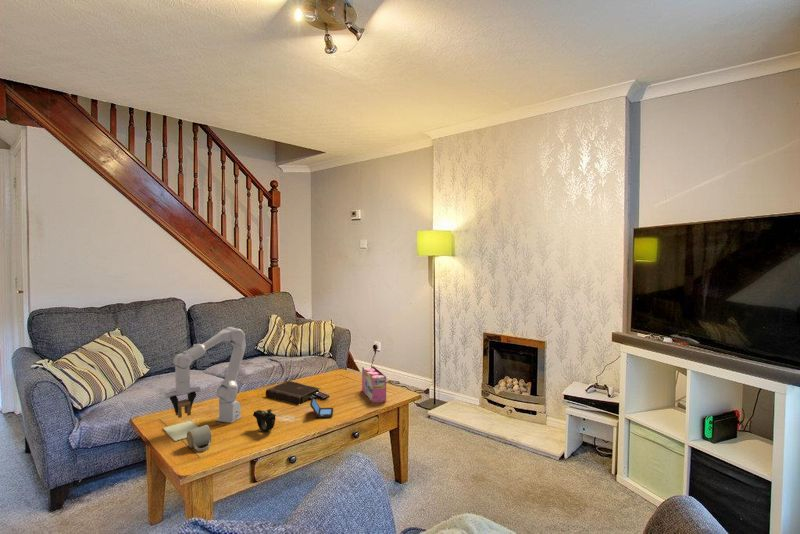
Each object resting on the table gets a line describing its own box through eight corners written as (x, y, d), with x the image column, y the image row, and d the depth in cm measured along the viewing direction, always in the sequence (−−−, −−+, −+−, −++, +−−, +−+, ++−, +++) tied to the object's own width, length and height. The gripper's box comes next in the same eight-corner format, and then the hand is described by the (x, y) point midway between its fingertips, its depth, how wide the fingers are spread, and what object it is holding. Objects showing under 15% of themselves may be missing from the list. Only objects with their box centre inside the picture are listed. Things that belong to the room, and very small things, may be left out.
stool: (190, 414, 195) (190, 401, 195) (178, 417, 191) (178, 404, 191) (187, 412, 198) (187, 399, 198) (175, 414, 195) (175, 401, 195)
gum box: (360, 389, 255) (360, 366, 254) (373, 388, 257) (373, 365, 257) (372, 403, 232) (372, 378, 232) (386, 401, 235) (386, 376, 234)
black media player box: (299, 406, 229) (298, 397, 229) (265, 398, 241) (265, 389, 241) (322, 395, 245) (322, 387, 245) (289, 388, 258) (289, 380, 257)
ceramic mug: (185, 445, 181) (185, 427, 181) (206, 439, 187) (205, 422, 186) (194, 454, 173) (193, 435, 173) (215, 448, 179) (214, 430, 178)
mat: (204, 433, 193) (204, 432, 193) (174, 441, 184) (174, 440, 184) (191, 421, 206) (191, 420, 206) (163, 428, 198) (163, 427, 198)
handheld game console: (332, 418, 211) (332, 403, 211) (309, 419, 210) (309, 404, 210) (333, 409, 223) (333, 395, 223) (312, 410, 222) (312, 395, 222)
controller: (269, 435, 191) (269, 412, 191) (251, 428, 198) (251, 407, 198) (277, 431, 195) (277, 409, 194) (259, 425, 202) (259, 404, 201)
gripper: (196, 375, 202) (197, 404, 203) (162, 382, 192) (162, 412, 193) (201, 379, 197) (202, 408, 197) (166, 385, 187) (167, 416, 188)
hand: (183, 410), depth 195 cm, fingers closed on stool, 5 cm apart
